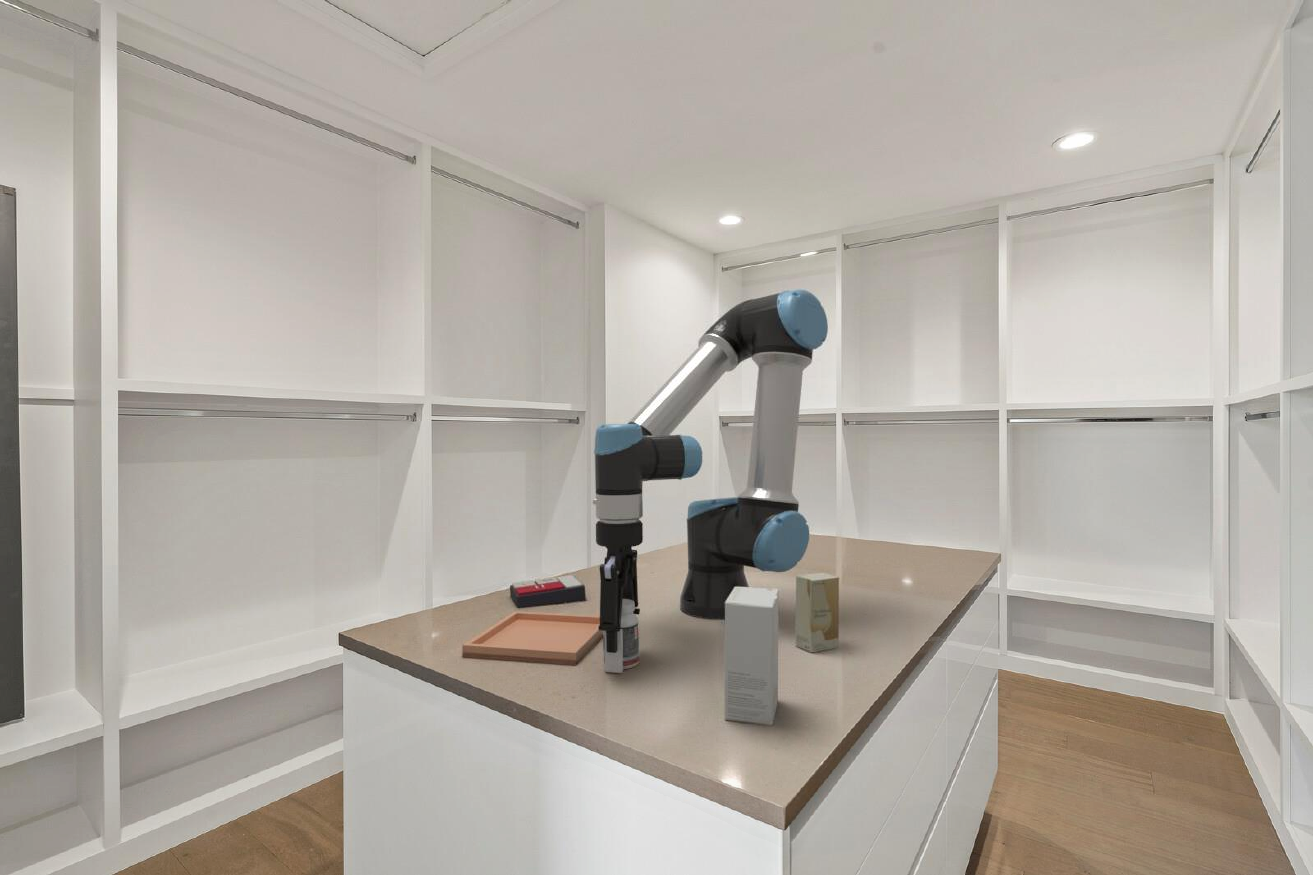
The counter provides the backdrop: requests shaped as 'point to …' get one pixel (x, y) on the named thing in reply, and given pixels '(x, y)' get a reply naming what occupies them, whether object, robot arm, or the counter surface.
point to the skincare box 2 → (817, 611)
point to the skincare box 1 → (751, 655)
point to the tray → (537, 638)
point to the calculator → (547, 591)
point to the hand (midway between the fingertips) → (620, 662)
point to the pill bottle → (628, 635)
